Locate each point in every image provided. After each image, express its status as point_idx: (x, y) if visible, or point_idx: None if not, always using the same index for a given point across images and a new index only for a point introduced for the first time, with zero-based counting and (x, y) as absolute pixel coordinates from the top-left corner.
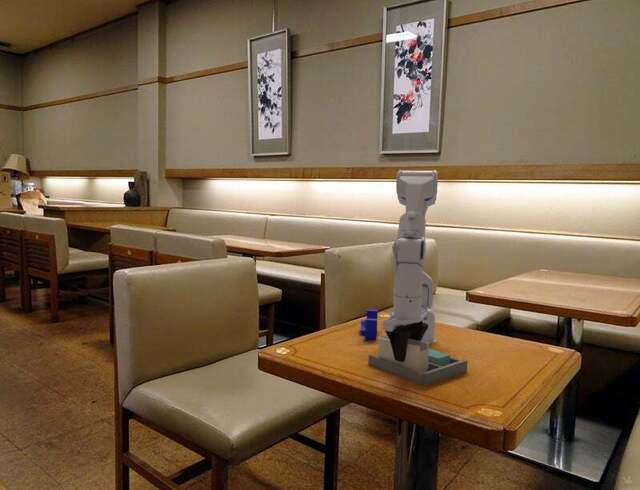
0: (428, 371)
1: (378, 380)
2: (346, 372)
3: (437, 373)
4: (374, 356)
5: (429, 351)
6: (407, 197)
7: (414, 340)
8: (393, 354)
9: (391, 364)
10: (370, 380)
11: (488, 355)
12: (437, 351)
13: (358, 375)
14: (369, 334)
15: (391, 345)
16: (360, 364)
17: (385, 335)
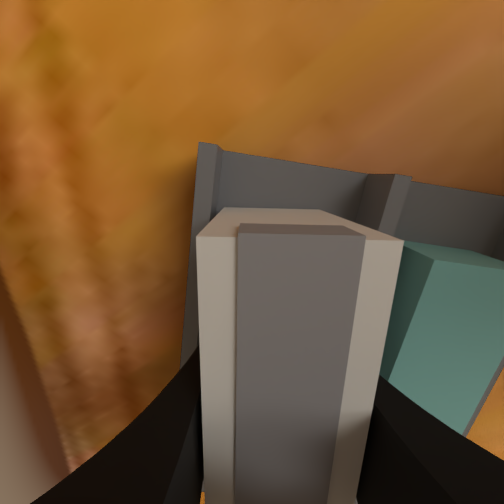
0: (203, 482)
1: (112, 290)
2: (53, 122)
3: None
4: (201, 193)
5: (437, 402)
6: None
7: (343, 491)
8: (192, 353)
9: (184, 322)
10: (84, 268)
11: None
12: (461, 425)
13: (79, 195)
14: None
15: (158, 396)
16: (203, 95)
17: (324, 242)
